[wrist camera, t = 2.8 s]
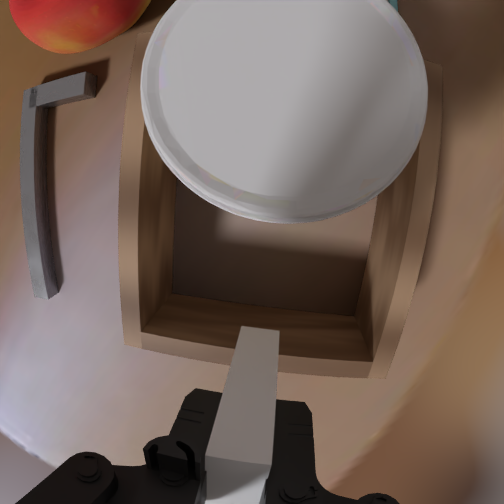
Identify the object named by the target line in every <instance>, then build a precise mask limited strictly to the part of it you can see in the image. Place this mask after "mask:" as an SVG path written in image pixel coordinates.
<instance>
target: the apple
mask: <svg viewBox="0 0 504 504" xmlns="http://www.w3.org/2000/svg"><path fill="white" fill-rule="evenodd" d="M150 2H151V0H9V6H10V11H11V14H12V17H13V19H14V21H15V23H16V25H17V26H18V28H19V29H20V30H21V32H22V33H23V34H24V35H25V36H26V37H27V38H28V39H29V40H31V41H32V42H34V43H35V44H36V45H38V46H40V47H42V48H44V49H46V50H49V51H52V52H55V53H62V54H72V53H79V52H83V51H86V50H90V49H92V48H95V47H97V46H100V45H102V44H104V43H106V42H108V41H110V40H111V39H113V38H115V37H117V36H118V35H120V34H122V33H123V32H125V31H126V30H128V29H129V28H130V27H131V26H133V25H134V24H135V23H136V21H137V20H138V19H139V18H140V16H141V15H142V14H143V12H144V11H145V9H146V8H147V6H148V5H149V3H150Z"/></svg>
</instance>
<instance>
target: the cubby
mask: <svg viewBox="0 0 504 504" xmlns="http://www.w3.org/2000/svg"><path fill="white" fill-rule="evenodd" d="M152 34H153V32H145V33H138V35H137V40H136V45H135V50H134V55H133V61H132V67H131V73H130V79H129V86H128V93H127V101H126V109H125V117H124V126H123V137H122V149H121V162H120V180H119V211H118V249H119V279H120V297H121V311H122V323H123V334H124V343H125V345H129V346H133V347H137V348H141V349H146V350H150V351H155V352H159V353H164V354H169V355H174V356H179V357H184V358H189V359H195V360H200V361H206V362H212V363H218V364H224V365H231V362H232V358H233V355H234V351H235V348H236V344H237V340H238V337H239V333H240V330H241V326H246V327H254V328H261V329H269V330H277V331H279V353H278V372H285V373H295V374H306V375H318V376H333V377H350V378H379V379H386V376H387V373H388V371H389V368H390V365H391V363H392V360H393V357H394V354H395V352H396V349H397V346H398V343H399V340H400V337H401V334H402V331H403V328H404V325H405V321H406V318H407V315H408V312H409V308H410V305H411V301H412V298H413V294H414V290H415V287H416V283H417V279H418V275H419V271H420V267H421V262H422V258H423V254H424V249H425V244H426V240H427V235H428V230H429V224H430V219H431V213H432V207H433V201H434V194H435V187H436V180H437V172H438V163H439V153H440V142H441V127H442V106H443V66H442V65H439V64H436V63H434V62H431V61H428V60H425V59H423V60H424V65H425V70H426V75H427V83H428V101H427V113H426V120H425V124H424V128H423V132H422V135H421V138H420V140H419V143H418V145H417V148H416V150H415V152H414V153H413V155H412V157H411V159H410V161H409V162H408V163H407V165H406V166H405V168H404V169H403V170H402V172H401V173H400V174H399V175H398V176H397V178H396V179H395V180H394V181H393V182H392V183H391V184H390V185H389V186H388V187H387V188H385V189H384V190H383V191H382V192H381V193H379V194H378V199H377V206H376V212H375V218H374V224H373V230H372V236H371V241H370V247H369V252H368V257H367V262H366V267H365V272H364V277H363V281H362V286H361V290H360V295H359V299H358V303H357V307H356V311H355V315H354V316H346V315H335V314H325V313H316V312H306V311H297V310H288V309H280V308H272V307H264V306H256V305H248V304H241V303H233V302H226V301H219V300H212V299H206V298H199V297H192V296H186V295H180V294H173V293H172V281H173V241H174V218H175V199H176V184H177V177H176V176H175V175H174V174H173V172H172V171H171V170H170V169H169V167H168V166H167V165H166V164H165V162H164V161H163V160H162V158H161V156H160V155H159V153H158V152H157V150H156V148H155V146H154V144H153V142H152V140H151V138H150V136H149V133H148V130H147V127H146V124H145V120H144V116H143V111H142V104H141V91H140V85H141V71H142V63H143V59H144V55H145V52H146V48H147V46H148V43H149V40H150V38H151V36H152Z"/></svg>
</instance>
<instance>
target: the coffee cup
mask: <svg viewBox="0 0 504 504" xmlns="http://www.w3.org/2000/svg"><path fill="white" fill-rule="evenodd" d="M140 91H141V104H142V111H143V116H144V120H145V124H146V127H147V130H148V133H149V136H150V138H151V140H152V142H153V144H154V146H155V148H156V150H157V152H158V153H159V155H160V156H161V158H162V160H163V161H164V162H165V164H166V165H167V166H168V167H169V169H170V170H171V171H172V172H173V174H174V175H175V176H176V177H177V178H178V179H179V180H180V181H181V182H182V183H183V184H184V185H186V186H187V187H188V188H189V189H191V190H192V191H193V192H194V193H196V194H197V195H199V196H200V197H202V198H203V199H205V200H206V201H208V202H209V203H211V204H213V205H215V206H217V207H219V208H221V209H223V210H225V211H228V212H231V213H233V214H236V215H238V216H241V217H245V218H249V219H253V220H257V221H264V222H270V223H286V224H291V223H307V222H314V221H320V220H324V219H328V218H332V217H336V216H338V215H341V214H344V213H346V212H349V211H351V210H353V209H355V208H357V207H359V206H361V205H363V204H365V203H366V202H368V201H369V200H371V199H372V198H374V197H375V196H377V195H378V194H379V193H381V192H382V191H383V190H384V189H385V188H387V187H388V186H389V185H390V184H391V183H392V182H393V181H394V180H395V179H396V178H397V176H398V175H399V174H400V173H401V172H402V170H403V169H404V168H405V166H406V165H407V163H408V162H409V161H410V159H411V157H412V155H413V153H414V152H415V150H416V148H417V145H418V143H419V140H420V138H421V135H422V132H423V128H424V124H425V120H426V113H427V101H428V83H427V75H426V70H425V65H424V60H423V57H422V55H421V52H420V49H419V46H418V44H417V42H416V40H415V38H414V36H413V34H412V32H411V30H410V29H409V27H408V26H407V24H406V22H405V21H404V20H403V18H402V17H401V16H400V15H399V13H398V12H397V11H396V10H395V9H394V8H393V6H392V5H391V4H390V3H389V2H388V1H387V0H176V1H175V2H174V3H173V5H172V6H171V7H170V8H169V9H168V10H167V12H166V13H165V14H164V16H163V17H162V18H161V20H160V21H159V23H158V24H157V26H156V28H155V30H154V32H153V34H152V36H151V38H150V40H149V43H148V46H147V48H146V52H145V55H144V59H143V63H142V71H141V85H140Z"/></svg>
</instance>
